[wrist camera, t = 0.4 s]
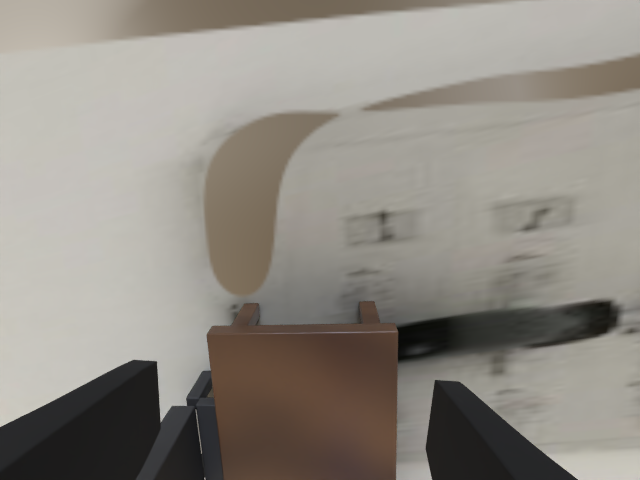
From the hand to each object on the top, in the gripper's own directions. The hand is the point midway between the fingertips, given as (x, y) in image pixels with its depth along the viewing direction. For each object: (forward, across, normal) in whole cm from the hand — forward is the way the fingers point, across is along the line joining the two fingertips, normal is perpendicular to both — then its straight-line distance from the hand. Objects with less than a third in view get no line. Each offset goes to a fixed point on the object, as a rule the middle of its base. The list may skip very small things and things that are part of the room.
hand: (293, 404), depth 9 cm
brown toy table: (+10, 0, +8) cm, 13 cm away
